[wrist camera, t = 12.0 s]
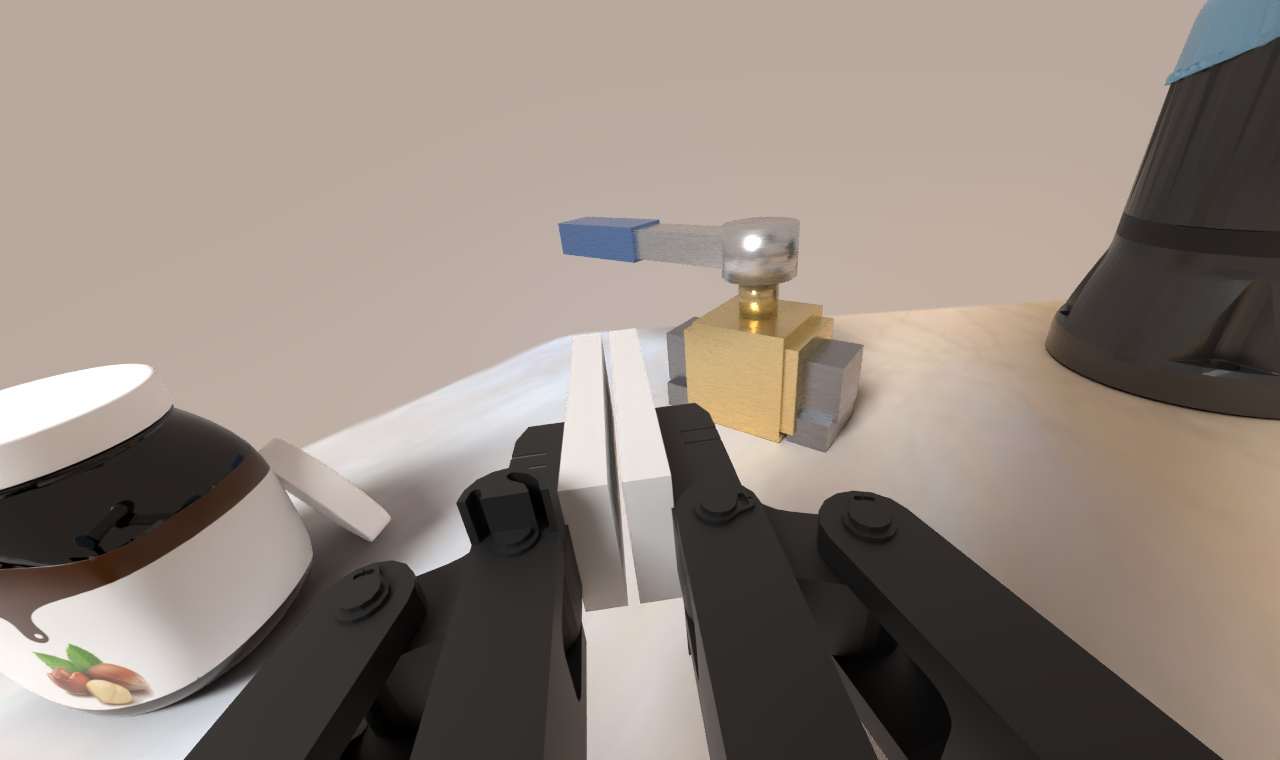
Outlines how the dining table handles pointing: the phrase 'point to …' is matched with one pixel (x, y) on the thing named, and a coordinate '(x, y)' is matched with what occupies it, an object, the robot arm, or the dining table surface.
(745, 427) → the valve body
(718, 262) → the lever
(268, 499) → the spread jar
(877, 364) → the dining table surface
